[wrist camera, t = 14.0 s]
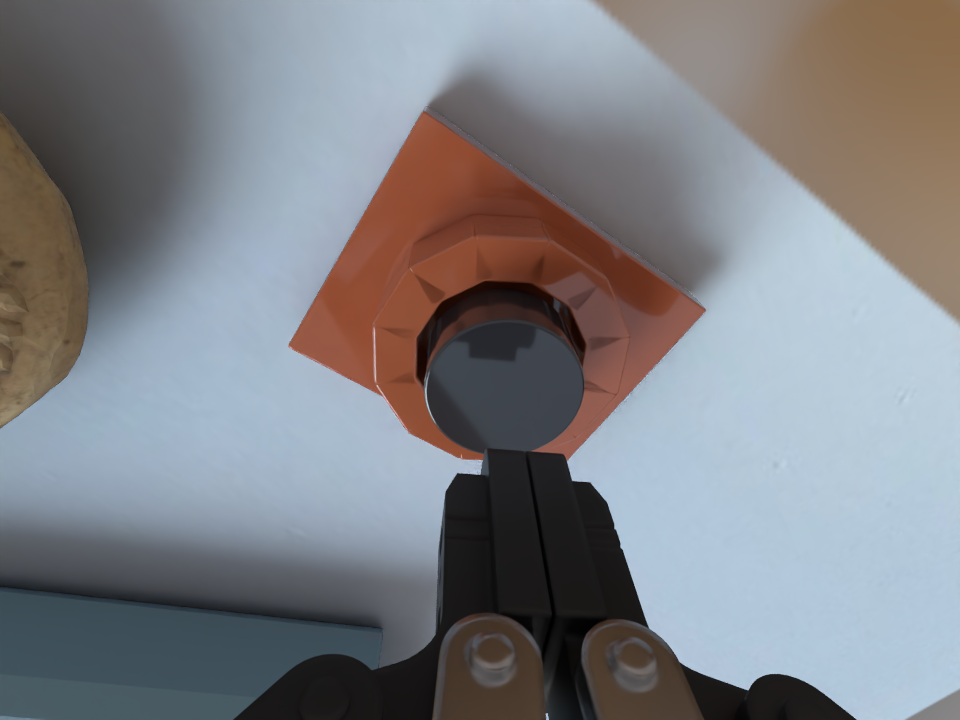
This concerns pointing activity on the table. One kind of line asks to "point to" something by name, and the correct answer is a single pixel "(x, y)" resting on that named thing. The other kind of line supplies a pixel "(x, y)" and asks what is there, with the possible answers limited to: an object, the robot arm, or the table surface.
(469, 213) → the button base
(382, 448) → the table surface
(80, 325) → the oil lamp
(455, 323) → the dark grey knob
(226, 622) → the book
